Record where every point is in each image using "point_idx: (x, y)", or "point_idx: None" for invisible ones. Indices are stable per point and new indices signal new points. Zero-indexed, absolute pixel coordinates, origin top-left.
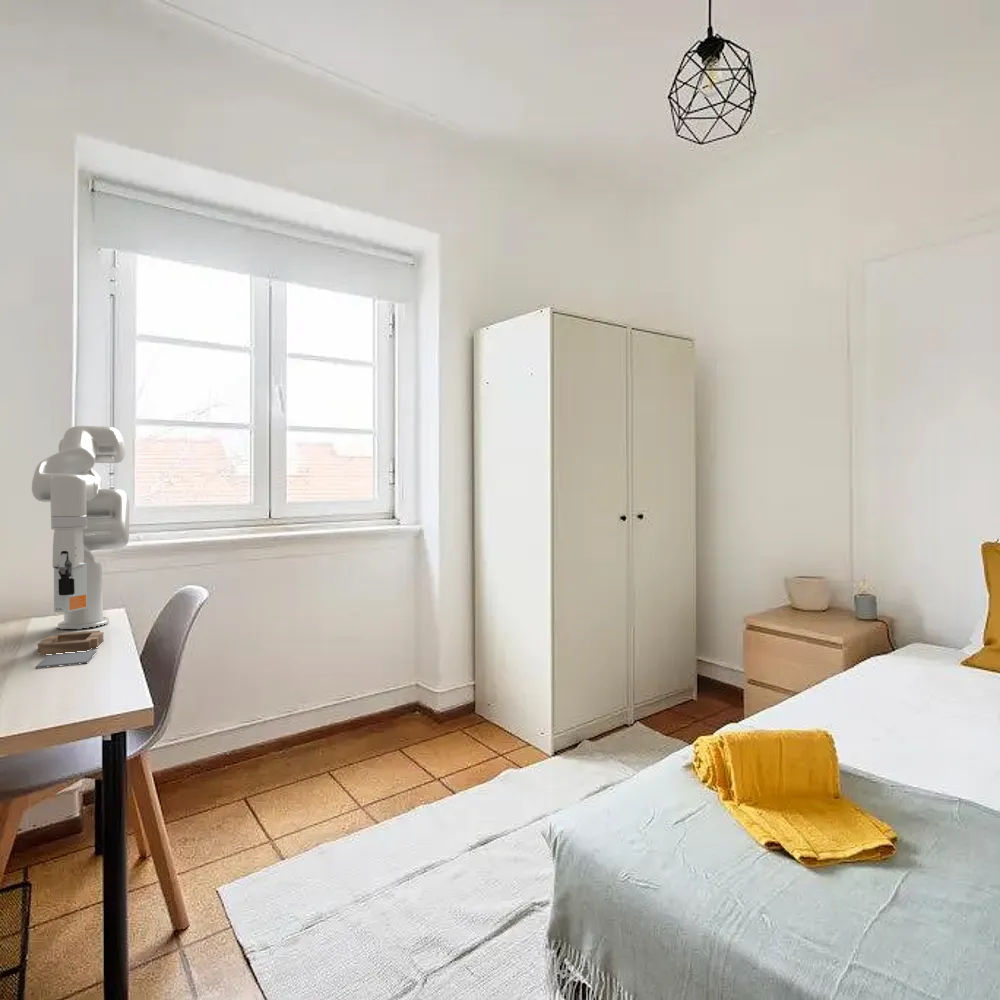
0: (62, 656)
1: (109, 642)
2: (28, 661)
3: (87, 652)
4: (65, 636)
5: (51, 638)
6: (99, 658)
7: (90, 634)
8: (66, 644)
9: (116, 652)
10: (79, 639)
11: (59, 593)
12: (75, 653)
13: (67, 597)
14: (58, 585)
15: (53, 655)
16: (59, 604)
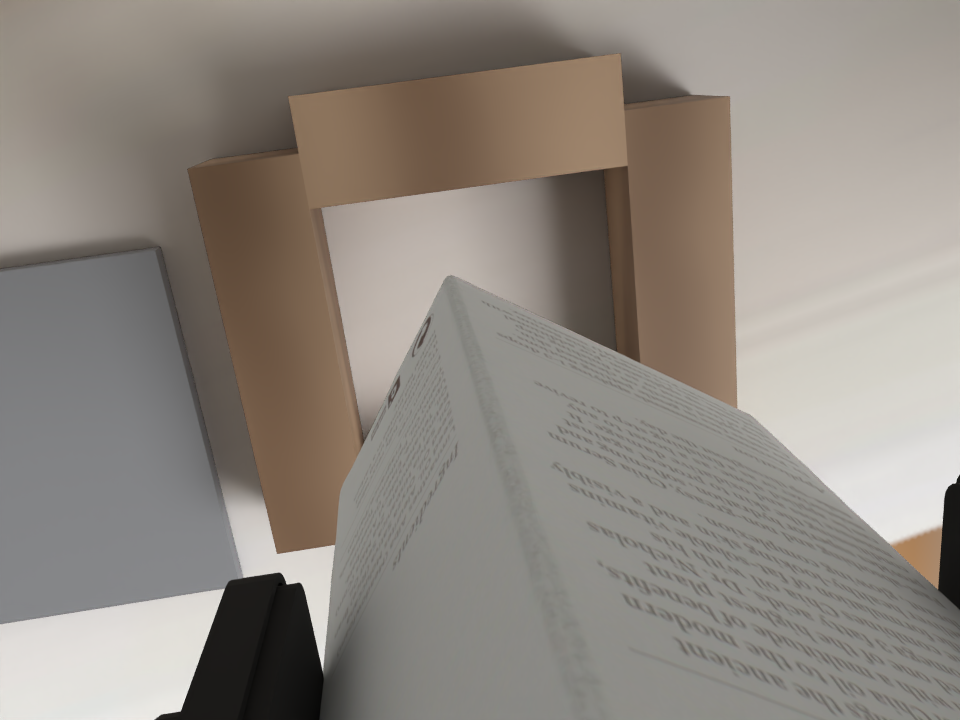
0: (74, 396)
1: None
2: (20, 127)
3: (186, 539)
4: (629, 226)
5: (508, 145)
6: (53, 655)
7: None
8: (238, 385)
9: None
10: (626, 332)
11: (227, 603)
12: (166, 460)
13: (326, 640)
14: (425, 618)
15: (124, 303)
16: (397, 417)
